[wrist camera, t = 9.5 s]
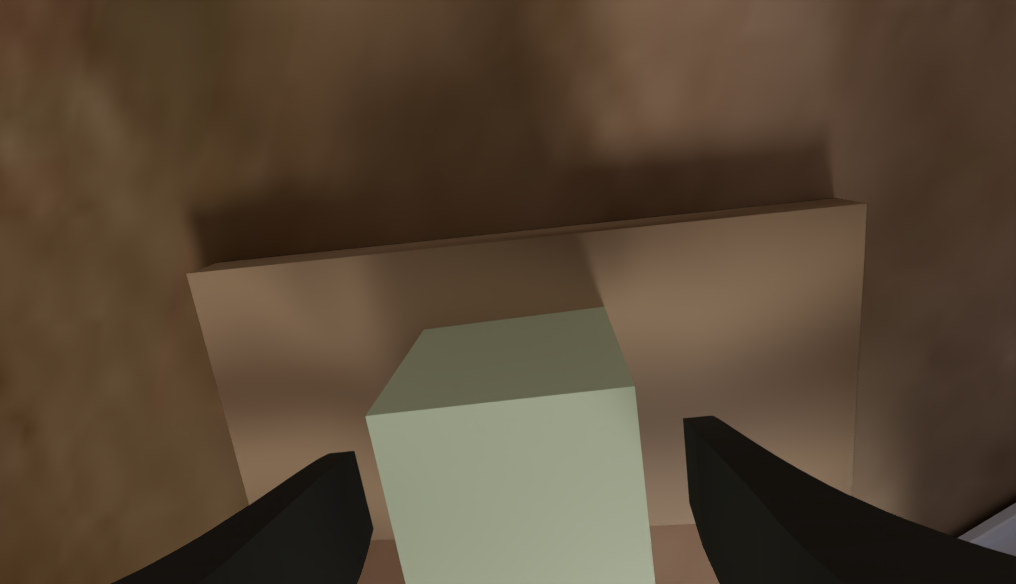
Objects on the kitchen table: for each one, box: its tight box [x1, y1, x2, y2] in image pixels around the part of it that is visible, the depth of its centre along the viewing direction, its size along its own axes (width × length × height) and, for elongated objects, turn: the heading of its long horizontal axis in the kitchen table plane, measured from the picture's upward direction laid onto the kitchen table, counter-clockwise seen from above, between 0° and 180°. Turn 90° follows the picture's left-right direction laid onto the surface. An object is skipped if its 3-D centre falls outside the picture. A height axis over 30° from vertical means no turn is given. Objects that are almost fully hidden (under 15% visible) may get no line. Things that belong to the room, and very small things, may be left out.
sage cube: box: [365, 307, 655, 584], centre depth 13 cm, size 5×5×5 cm
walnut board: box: [187, 198, 867, 540], centre depth 16 cm, size 9×18×2 cm, turn 97°
